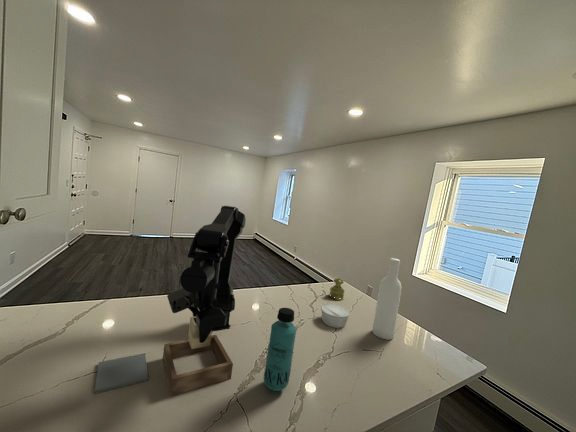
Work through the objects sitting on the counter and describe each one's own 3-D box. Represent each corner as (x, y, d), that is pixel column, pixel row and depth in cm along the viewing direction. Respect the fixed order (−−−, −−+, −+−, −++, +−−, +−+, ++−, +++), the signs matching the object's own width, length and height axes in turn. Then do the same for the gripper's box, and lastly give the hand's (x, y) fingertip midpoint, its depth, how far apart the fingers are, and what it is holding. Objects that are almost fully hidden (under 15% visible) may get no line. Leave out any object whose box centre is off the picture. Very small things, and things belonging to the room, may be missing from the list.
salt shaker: (334, 293, 135) (337, 275, 135) (346, 299, 130) (349, 280, 129) (326, 296, 130) (329, 277, 129) (338, 301, 125) (341, 282, 124)
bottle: (395, 342, 93) (408, 263, 91) (373, 336, 94) (386, 259, 93) (391, 331, 101) (403, 258, 99) (371, 327, 102) (382, 255, 100)
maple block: (205, 336, 68) (207, 314, 67) (210, 345, 64) (212, 322, 63) (187, 339, 65) (190, 317, 65) (191, 349, 61) (194, 325, 61)
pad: (144, 355, 67) (145, 353, 67) (147, 380, 59) (147, 377, 59) (98, 364, 62) (98, 362, 62) (94, 393, 53) (94, 390, 53)
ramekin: (316, 323, 99) (318, 310, 98) (323, 313, 109) (325, 301, 109) (345, 333, 95) (347, 319, 94) (349, 321, 105) (351, 309, 105)
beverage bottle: (262, 377, 65) (272, 303, 64) (287, 378, 66) (298, 305, 65) (261, 396, 59) (273, 314, 57) (289, 398, 59) (301, 317, 58)
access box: (214, 347, 75) (216, 334, 74) (231, 378, 63) (232, 363, 63) (162, 358, 67) (164, 344, 67) (170, 396, 55) (172, 379, 55)
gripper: (166, 268, 67) (160, 324, 68) (179, 295, 51) (171, 368, 52) (208, 267, 73) (202, 318, 74) (231, 291, 57) (222, 355, 58)
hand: (199, 337), depth 64 cm, fingers closed on maple block, 4 cm apart
